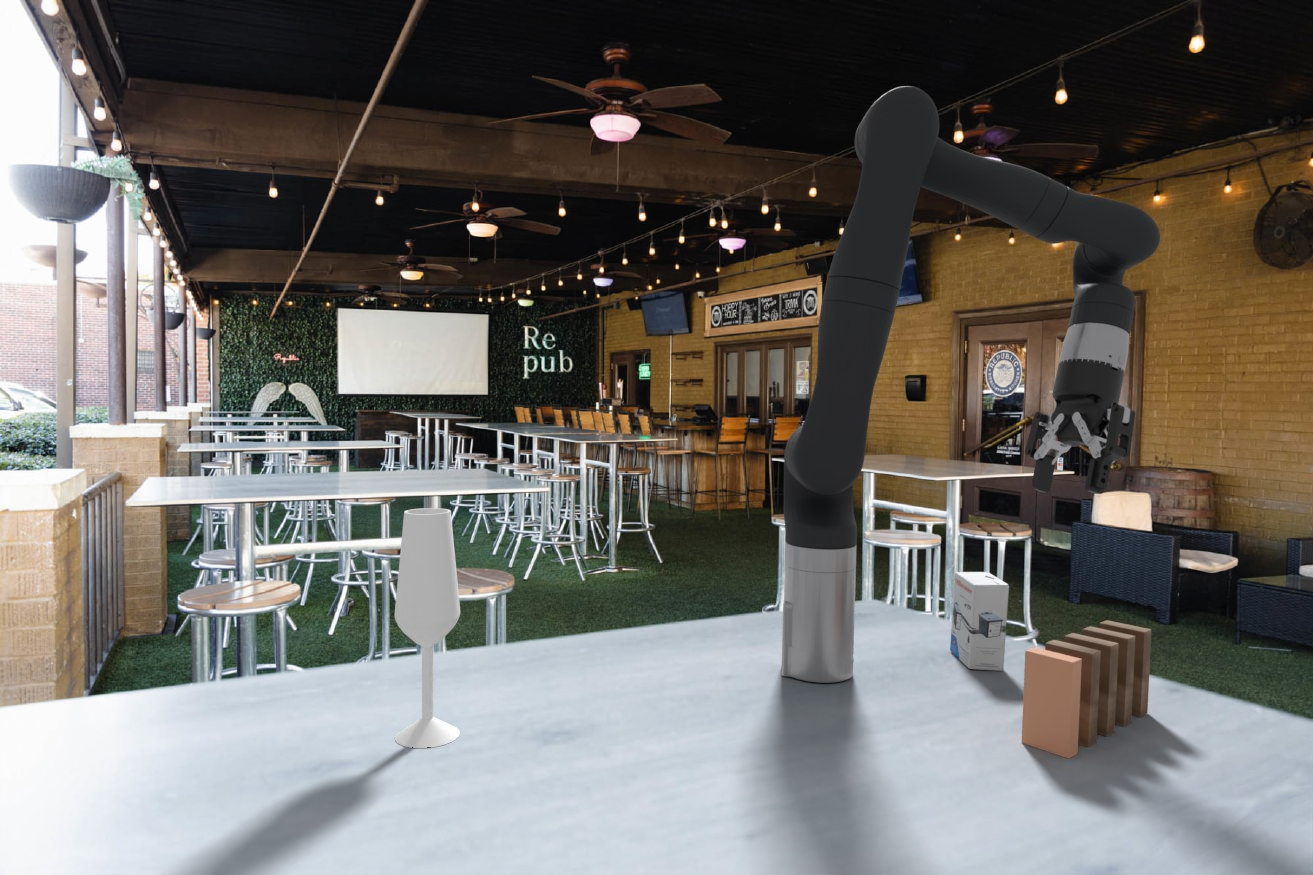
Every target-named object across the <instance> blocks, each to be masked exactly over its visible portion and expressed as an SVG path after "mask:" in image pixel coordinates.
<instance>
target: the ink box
mask: <svg viewBox="0 0 1313 875" xmlns="http://www.w3.org/2000/svg"><path fill="white" fill-rule="evenodd" d="M953 577H954V578H953V596H952V597H953V598H952V614H951V615H952V616H951V630H950V632H951V634H950V652H951V653H953V655H954V656H955V657H957V659H958V660H960V662H962V663H963V665H965V667H966V668H968V669H969V670H981V671H982V670H983V671H1001V672H1002V671H1004V669H1005V668H1004V667H1005V653H1006V652H1005V651H1006V638H1007V637H1006V636H1007V634H1006V633H1007V621H1008V620H1007V618H1008V606H1009V593H1010V592H1009V591H1010V586H1009V584H1008V583H1007V582H1005V581H1003V580H1001V579H1000V578H999V577H997V576H995V575H994V574H992V573H991V572H988V571H954V576H953Z"/></svg>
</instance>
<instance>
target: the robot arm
mask: <svg viewBox="0 0 1313 875" xmlns="http://www.w3.org/2000/svg"><path fill="white" fill-rule="evenodd" d="M939 132H940V117H939V112H938V109H937V107H936V104H935V102H934V101H933V99H932V98H931V96H929V94H928V93H926V92H925V91H924V90H922V89H921V88H919V87H916V86H910V85H906V86H905V85H904V86H898V87H895V88H893V89H890V90H888V91H887V92H885V93H883V94H882V95H880V97H879V98H878V99H877V100H875V101H874V102H873V103H872V105H870V107H869V109H868V110H867V111H866V113H865V115H864V116H863V118H862V119H861V121H860V122H859V124H858V127H857V129H856V131H855V136H854V150H855V152H856V156H857V158H858V160H859V161H860V162H861V164H862V165H861V166H862V167H861V172H860V178H859V185H858V189H857V193H856V197H855V201H854V204H853V207H852V209H851V211H850V213H849V216H848V219H847V220H846V221H847V222H846V223H845V226H844V228H843V231H842V232H841V233H842V234H841V236H840V238H839V241H838V243H837V246H836V249H835V252H834V255H833V257H832V261H831V263H830V267H829V270H828V274H827V278H826V281H825V282H826V283H825V286H824V291H823V296H822V300H821V305H820V312H819V318H818V330H817V331H818V332H817V360H816V362H817V364H816V365H817V366H816V375H815V376H816V377H815V381H814V385H813V386H814V387H813V392H812V395H811V399H810V401H809V406H808V409H807V412H806V415H805V419H804V421H803V424H802V425H800V426H799V427H797V428H796V429H795V430H794V431H793V432H792V433H791V435H790V436H789V437H788V440H787V442H786V445H785V449H784V456H783V457H784V458H783V459H784V460H783V519H784V520H783V521H784V527H785V528H784V532H785V533H784V534H785V536H784V537H785V538H784V539H785V540H784V541H785V543H784V544H785V545H784V546H785V548H784V578H783V579H784V581H783V582H784V583H783V584H784V586H783V605H782V633H781V634H782V635H781V636H782V638H781V639H782V640H781V641H782V643H781V676H783V677H788V678H789V677H790V678H793V679H797V680H801V681H805V682H810V683H811V682H812V683H827V684H828V683H838V682H839V683H840V682H843V681H847V680H849V679H851V678H852V677H853V675H854V661H855V657H854V646H855V619H856V618H855V615H856V614H855V612H856V611H855V608H856V580H857V579H856V576H857V544H858V543H857V542H858V540H857V538H858V528H857V522H856V519H855V512H854V505H853V504H854V503H853V498H854V496H853V491H854V490H853V487H854V485H853V484H854V483H855V481H856V480H857V479H858V478H859V476H860V473H861V472H862V469H863V467H864V463H865V462H864V461H865V455H866V449H867V448H866V446H867V437H868V429H869V420H870V411H871V405H872V398H873V395H874V394H873V393H874V389H875V386H876V382H877V378H878V374H879V371H880V368H881V365H882V362H883V359H884V355H885V351H886V348H887V344H888V340H889V336H890V332H891V329H892V325H893V322H894V318H895V313H896V309H897V304H898V300H899V296H900V291H901V288H902V287H901V286H902V281H903V275H904V271H905V266H906V265H905V264H906V261H907V255H908V249H909V245H910V244H909V243H910V239H911V238H910V237H911V230H912V224H913V217H914V212H915V207H916V205H917V201H918V197H919V194H920V190H921V188H922V189H924V190H928V191H931V192H934V193H937V194H939V195H942V196H945V197H948V198H949V199H953V200H955V201H958V202H960V203H962V204H965V205H967V206H969V207H972V208H974V209H976V210H979V211H981V212H983V213H985V214H986V215H990V216H991V217H994V218H995V219H997V220H999V221H1001V222H1003V223H1005V224H1007V225H1009V226H1011V227H1013V228H1014V229H1017V230H1019V231H1022V232H1023V233H1025V234H1027V235H1029V236H1031V237H1033V238H1036V239H1037V240H1038V241H1039V240H1040V241H1042V242H1044V243H1047V244H1052V245H1056V244H1062V243H1065V242H1076V243H1077V244H1076V246H1075V249H1074V252H1073V256H1072V269H1071V270H1072V288H1073V296H1074V300H1073V304H1072V306H1071V312H1070V316H1069V321H1068V326H1067V331H1066V334H1065V337H1064V339H1063V342H1062V345H1061V350H1060V355H1059V359H1058V360H1059V361H1058V365H1057V369H1056V374H1055V379H1054V383H1053V389H1052V397H1053V399H1054V401H1055V404H1056V405H1055V408H1054V409H1053V410H1054V411H1052V414H1051V413H1050V414H1049V413H1048V414H1047V413H1044V412H1041V411H1036V412H1035V413H1034V415H1033V418H1032V422H1031V426H1030V431H1029V433H1028V434H1029V435H1028V439H1027V441H1026V442H1027V443H1026V446H1025V450H1024V454H1025V455H1026V456H1028V457H1030V458H1032V459H1034V460H1035V465H1034V470H1033V475H1032V479H1031V484H1032V488H1033V490H1034V491H1037V492H1040V493H1049V492H1051V488H1052V487H1051V486H1052V482H1053V477H1054V473H1055V468H1056V465H1055V463H1056V462H1057V461H1058V459H1059V458H1060V457H1061V455H1062V454H1064V453H1067V452H1069V450H1070V449H1071V448H1072V447H1074V448H1075V447H1080V446H1082V445H1083V446H1086V447H1088V449H1089V452H1090V454H1091V456H1092V458H1093V459H1089V460H1090V461H1089V464H1088V469H1087V475H1086V480H1085V485H1084V489H1085V491H1086V492H1089V493H1092V494H1096V495H1102V494H1104V493H1105V489H1106V488H1107V486H1108V483H1109V479H1110V478H1109V477H1110V473H1111V467H1112V464H1114V463H1116V460H1119V459H1127V458H1128V457H1129V456H1130V453H1131V448H1132V446H1131V445H1132V441H1133V440H1132V438H1133V431H1134V425H1135V419H1136V418H1135V417H1136V412H1135V410H1133V409H1131V408H1130V407H1127V406H1125V405H1121V404H1120V398H1121V394H1122V388H1123V383H1124V377H1125V372H1126V367H1127V362H1128V357H1129V350H1130V349H1129V347H1130V346H1129V344H1130V343H1129V342H1130V334H1131V329H1132V324H1133V319H1134V314H1135V310H1136V309H1135V308H1136V297H1135V294H1134V292H1133V291H1132V290H1131V289H1130V288H1129V287H1127V286H1126V285H1124V284H1123V282H1124V276H1125V274H1126V271H1127V270H1129V269H1131V268H1134V267H1135V266H1137V265H1139V264H1140V263H1142V262H1144V261H1147V260H1148V259H1149V258H1150V257H1151V256H1152V255H1153V254H1154V253H1155V252H1156V251H1157V250H1158V247H1159V245H1160V242H1161V233H1160V232H1161V231H1160V229H1159V226H1158V224H1157V222H1155V220H1154V219H1153V217H1152V216H1150V215H1149V214H1148V213H1147V212H1146V211H1145V210H1142V209H1141V208H1139V207H1137V206H1135V205H1132V204H1130V203H1126V202H1123V201H1119V200H1116V199H1110V198H1106V197H1103V196H1098V195H1094V194H1088V193H1082V192H1079V191H1076V190H1074V189H1073V188H1070V187H1069V186H1066V185H1065V184H1063V183H1061V182H1059V181H1057V180H1055V179H1053V178H1051V177H1049V176H1047V175H1045V174H1043V173H1041V172H1038V171H1036V170H1033V169H1031V168H1028V167H1025V166H1022V165H1018V164H1015V163H1014V164H1013V163H1010V162H1006V161H1002V160H998V159H993V158H989V157H984V156H983V155H982V156H981V155H977V154H974V153H971V152H969V151H965V150H963V149H960V148H959V147H956V146H954V145H952V144H950V143H949V142H946V141H945V140H943V139H942V138H940V137H939ZM1056 438H1057V440H1056ZM1038 441H1039V445H1038ZM1118 443H1119V445H1118ZM1037 445H1038V448H1036V447H1037ZM1051 449H1052V450H1051ZM1050 451H1051V452H1050ZM1049 452H1050V453H1049Z"/></svg>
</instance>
